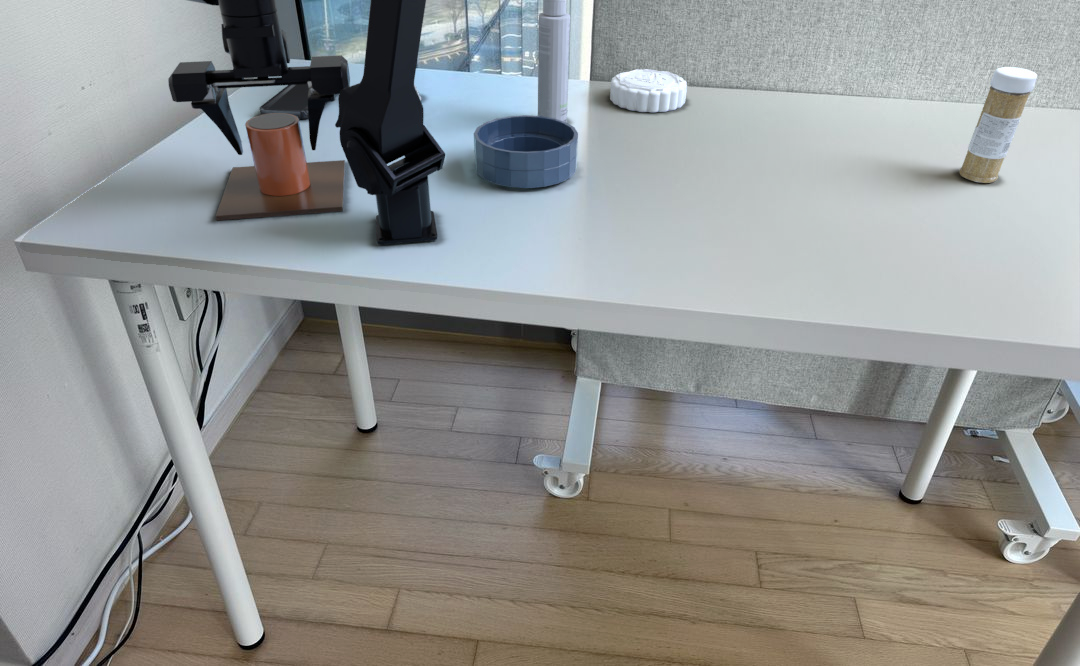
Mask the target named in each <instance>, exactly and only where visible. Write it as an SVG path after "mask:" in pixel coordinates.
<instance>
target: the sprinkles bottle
mask: <svg viewBox="0 0 1080 666" xmlns="http://www.w3.org/2000/svg"><path fill="white" fill-rule="evenodd" d="M1037 79H1038V74H1037V73H1036V72H1034V71H1032V70H1030V69H1027V68H1022V67H1015V66H1002V67H998V68H996V69H995V70H994V72H993V74H992V77H991V79H990V83H989V85H990V86H989V91H988V93H987V95H986V99H985V101H984V104H983V107H982V110H981V112H980V115H979V118H978V120H977V123H976V125H975V127H974V131H973V133H972V136H971V138H970V141H969V144H968V147H967V152H966V154H965V157H964V160H963V163H962V165H961V167H960V168H959V170H958V171H959V175H960V177H962V178H965V179H966V180H968V181H971V182H975V183H980V184H989V183H994V182H996V181H997V180H998V178H999V172H1000V170H1001V168H1002V165H1003V163H1004V160H1005V158H1006V157H1007V155H1008V152H1009V148H1010V147H1011V144H1012V142H1013V139H1014V137H1015V134H1016V131H1017V129H1018V127H1019V124H1020V121H1021V119H1022V115H1023V111H1024V110H1025V106H1026V103H1027V101H1028V99H1029V96H1030V95H1031V93H1032V92H1033V90H1034V88H1035V86H1036V82H1037Z"/></svg>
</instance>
